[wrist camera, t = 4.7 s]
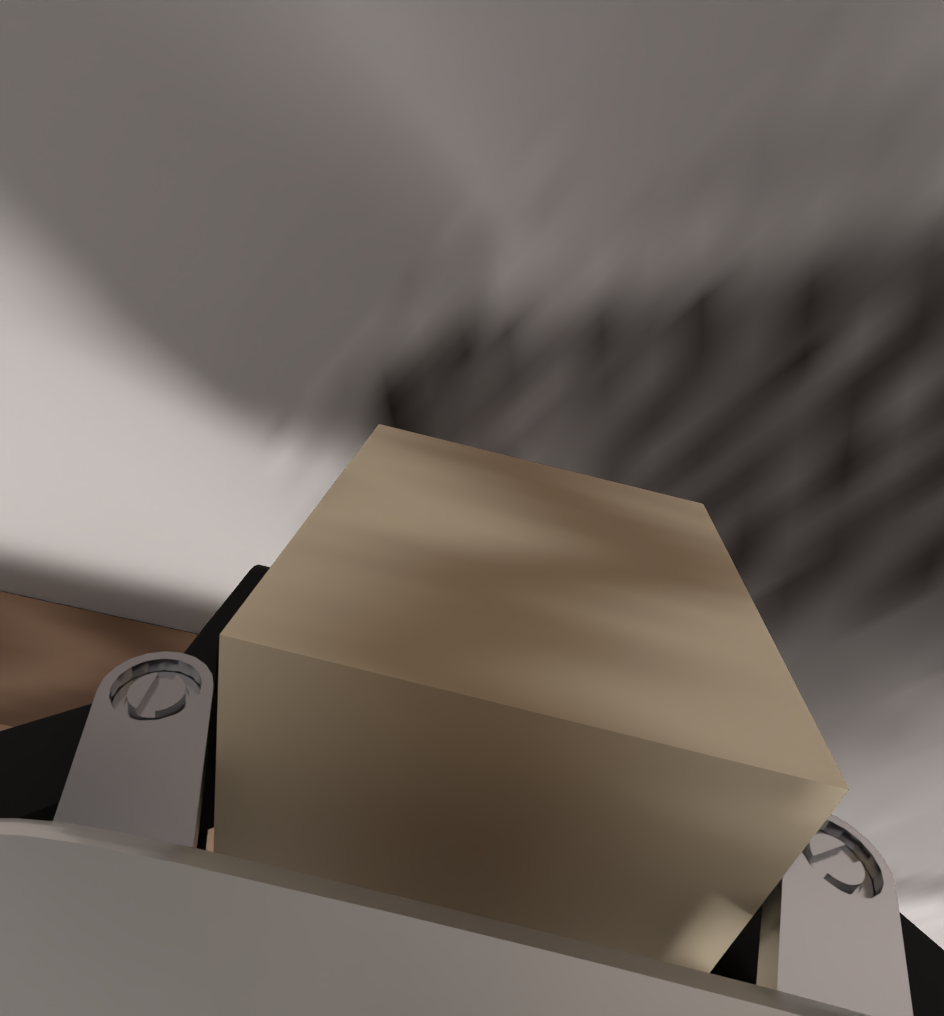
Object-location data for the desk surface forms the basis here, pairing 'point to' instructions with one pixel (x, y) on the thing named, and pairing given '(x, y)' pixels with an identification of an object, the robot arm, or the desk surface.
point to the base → (67, 656)
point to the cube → (518, 706)
